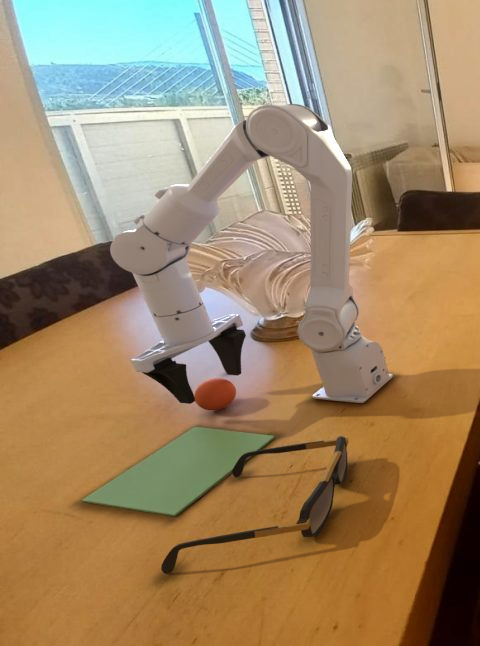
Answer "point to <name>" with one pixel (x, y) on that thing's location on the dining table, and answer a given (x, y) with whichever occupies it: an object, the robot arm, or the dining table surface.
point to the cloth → (179, 471)
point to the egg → (215, 394)
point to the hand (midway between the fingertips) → (212, 387)
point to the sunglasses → (312, 510)
